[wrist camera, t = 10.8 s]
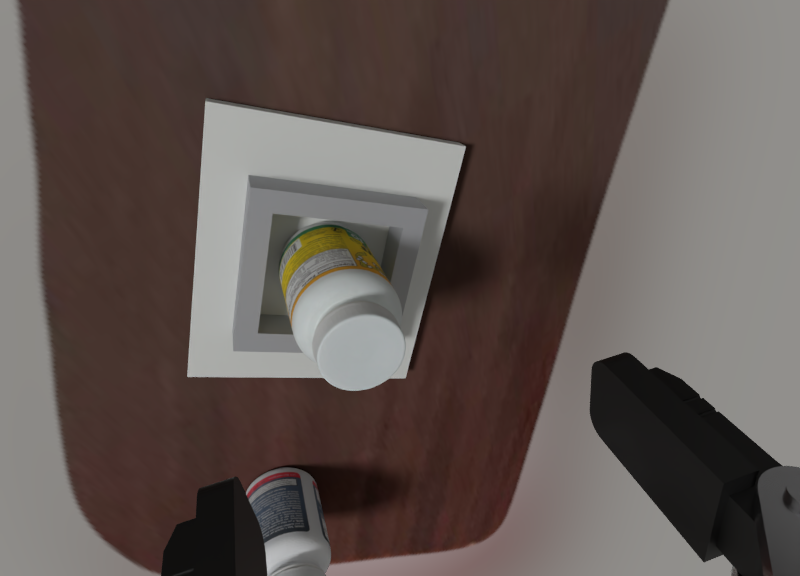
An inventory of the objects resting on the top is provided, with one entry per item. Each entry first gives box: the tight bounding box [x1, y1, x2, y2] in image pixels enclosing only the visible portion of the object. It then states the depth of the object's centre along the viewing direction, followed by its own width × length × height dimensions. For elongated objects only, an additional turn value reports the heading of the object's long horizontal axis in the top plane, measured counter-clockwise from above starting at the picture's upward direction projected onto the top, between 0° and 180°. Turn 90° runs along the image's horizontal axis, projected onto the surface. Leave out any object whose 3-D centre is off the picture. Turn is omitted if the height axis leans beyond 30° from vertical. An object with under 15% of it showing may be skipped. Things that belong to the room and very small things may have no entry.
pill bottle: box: [246, 467, 331, 576], centre depth 36 cm, size 5×5×9 cm
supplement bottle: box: [278, 222, 406, 391], centre depth 28 cm, size 5×5×10 cm
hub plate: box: [187, 98, 466, 378], centre depth 31 cm, size 16×14×3 cm
